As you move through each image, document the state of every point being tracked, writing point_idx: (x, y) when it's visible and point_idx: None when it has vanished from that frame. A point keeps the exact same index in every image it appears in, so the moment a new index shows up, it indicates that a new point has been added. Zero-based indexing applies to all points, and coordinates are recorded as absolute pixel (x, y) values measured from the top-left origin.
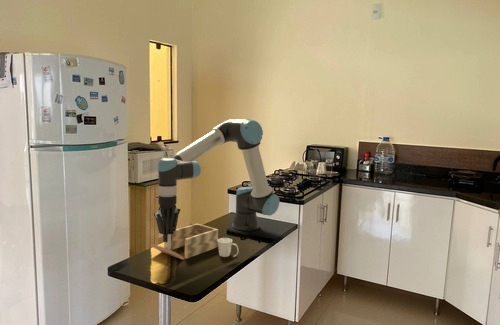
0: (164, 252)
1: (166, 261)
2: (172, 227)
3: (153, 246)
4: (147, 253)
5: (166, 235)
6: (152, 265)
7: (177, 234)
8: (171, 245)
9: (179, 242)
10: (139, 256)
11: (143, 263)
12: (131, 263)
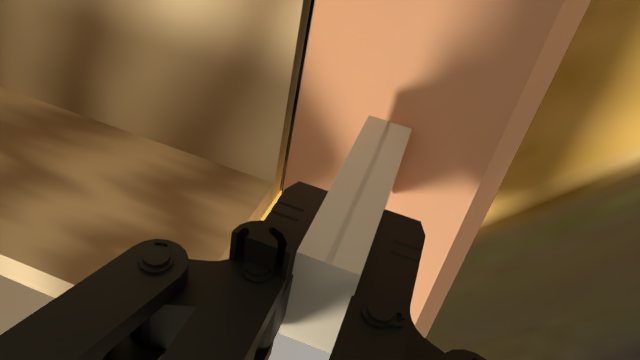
0: None
1: None
2: (177, 342)
3: (435, 311)
4: None
5: (380, 296)
6: (610, 157)
7: (56, 222)
8: (197, 190)
9: (98, 158)
10: (442, 330)
11: (585, 251)
12: (621, 333)
